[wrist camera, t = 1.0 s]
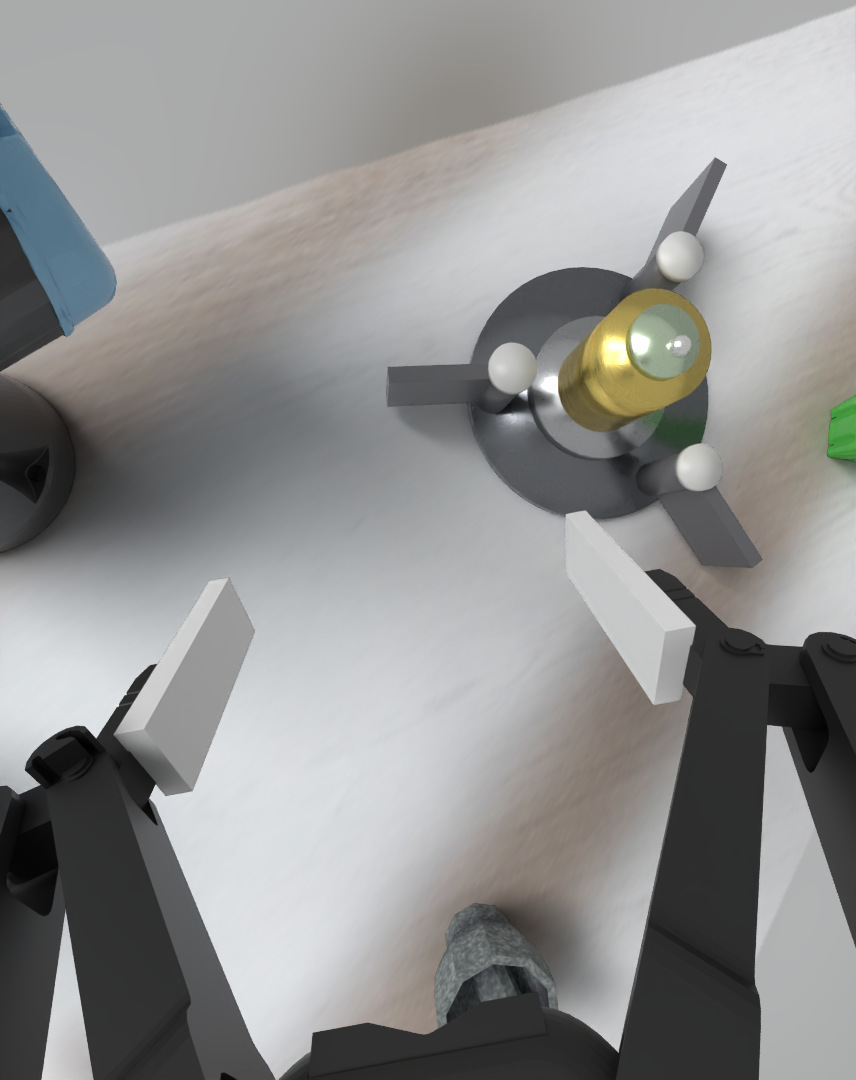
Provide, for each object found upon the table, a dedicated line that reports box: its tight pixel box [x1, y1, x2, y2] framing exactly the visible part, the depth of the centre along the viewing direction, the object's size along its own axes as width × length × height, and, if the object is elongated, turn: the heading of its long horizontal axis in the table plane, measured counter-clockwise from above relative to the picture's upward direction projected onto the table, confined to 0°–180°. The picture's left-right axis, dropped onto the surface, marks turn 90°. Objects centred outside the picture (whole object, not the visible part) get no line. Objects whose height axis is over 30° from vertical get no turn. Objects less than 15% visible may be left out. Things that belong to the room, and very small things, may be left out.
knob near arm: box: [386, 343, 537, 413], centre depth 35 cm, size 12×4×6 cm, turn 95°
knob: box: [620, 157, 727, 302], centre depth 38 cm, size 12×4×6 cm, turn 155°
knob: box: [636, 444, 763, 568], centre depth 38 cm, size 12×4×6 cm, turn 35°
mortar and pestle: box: [434, 903, 558, 1028], centre depth 33 cm, size 11×9×12 cm
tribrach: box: [468, 267, 711, 519], centre depth 35 cm, size 24×24×12 cm
